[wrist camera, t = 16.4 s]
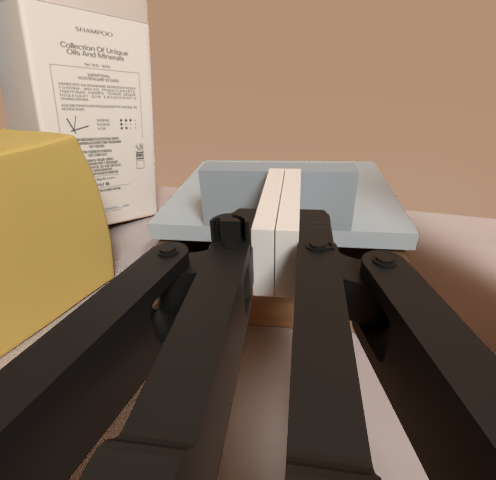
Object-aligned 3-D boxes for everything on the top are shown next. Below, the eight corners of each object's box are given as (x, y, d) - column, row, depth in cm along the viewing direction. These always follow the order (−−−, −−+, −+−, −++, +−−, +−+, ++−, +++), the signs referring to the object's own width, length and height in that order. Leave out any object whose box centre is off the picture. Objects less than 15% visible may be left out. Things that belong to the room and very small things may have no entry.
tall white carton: (115, 193, 37) (87, -103, 27) (158, 215, 32) (142, -145, 22) (24, 207, 31) (-54, -165, 22) (58, 237, 26) (-25, -244, 16)
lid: (149, 238, 20) (135, 169, 18) (205, 170, 31) (200, 123, 29) (415, 250, 18) (434, 173, 16) (371, 173, 29) (379, 122, 27)
